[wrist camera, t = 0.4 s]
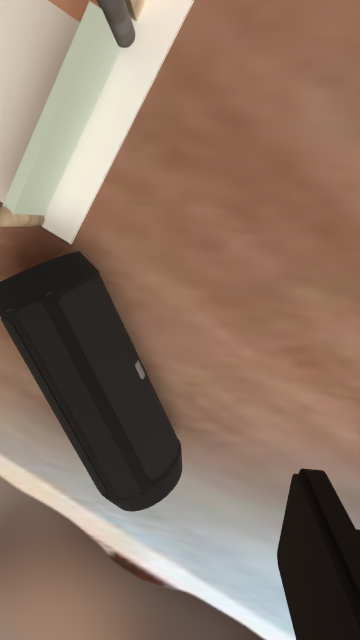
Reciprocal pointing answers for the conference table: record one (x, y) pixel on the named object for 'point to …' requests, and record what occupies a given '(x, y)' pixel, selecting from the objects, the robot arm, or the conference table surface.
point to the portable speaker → (93, 379)
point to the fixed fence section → (122, 18)
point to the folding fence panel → (61, 121)
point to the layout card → (37, 82)
